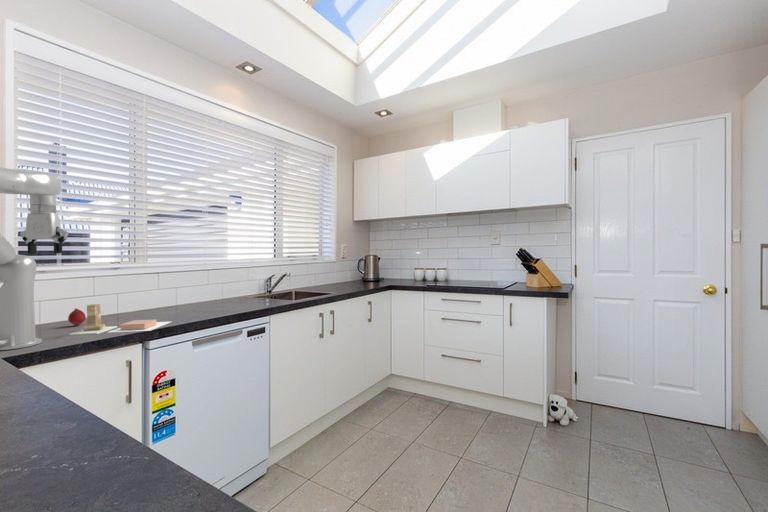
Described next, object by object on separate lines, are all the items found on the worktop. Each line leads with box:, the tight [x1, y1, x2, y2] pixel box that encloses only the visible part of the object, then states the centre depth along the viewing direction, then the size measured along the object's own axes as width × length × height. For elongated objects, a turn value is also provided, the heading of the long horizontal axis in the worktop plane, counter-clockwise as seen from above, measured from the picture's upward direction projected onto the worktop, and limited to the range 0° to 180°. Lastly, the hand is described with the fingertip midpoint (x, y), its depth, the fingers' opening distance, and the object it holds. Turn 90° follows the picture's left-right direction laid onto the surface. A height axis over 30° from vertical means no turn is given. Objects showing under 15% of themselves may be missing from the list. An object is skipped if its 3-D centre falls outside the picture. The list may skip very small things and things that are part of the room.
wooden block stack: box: [83, 303, 106, 331], centre depth 144 cm, size 3×6×10 cm, turn 95°
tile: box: [120, 319, 158, 330], centre depth 148 cm, size 2×9×9 cm
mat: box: [108, 321, 171, 333], centre depth 150 cm, size 18×16×1 cm
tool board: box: [68, 325, 118, 336], centre depth 144 cm, size 12×10×1 cm
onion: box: [67, 307, 87, 327], centre depth 159 cm, size 6×6×8 cm
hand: (45, 253), depth 144 cm, fingers open, 9 cm apart
